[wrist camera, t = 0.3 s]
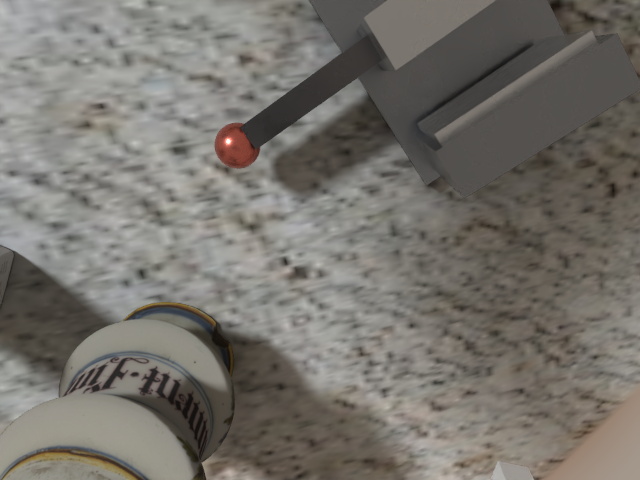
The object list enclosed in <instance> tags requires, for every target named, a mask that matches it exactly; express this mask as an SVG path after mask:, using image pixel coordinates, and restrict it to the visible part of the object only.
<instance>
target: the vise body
mask: <svg viewBox="0 0 640 480" xmlns="http://www.w3.org/2000/svg"><path fill="white" fill-rule="evenodd" d="M309 1H310V3H311V4H312V6H313V8H314V9H315V11H316V12H317V14H318V16H319V17H320V19H321V20H322V22H323V23H324V25H325V27H326V28H327V30H328V31H329V33H330V34H331V36H332V38H333V39H334V41H335V42H336V44H337V46H338V47H339V49H340V50H341V52H342V53H343V52H344V51H346V50H347V49H349V48H350V47H351V46H353V45H354V44H355V43H357V42H358V41H360V40H361V39H362V36H361V34H360V33H359V31H358V30H357V29H358V27H359V25H360V24H361V22H362V20H363V18H364V17H365V16H367V15H368V14H369V13H371V12H372V11H373V10H375V9H376V8H377V7H379V6H380V5H382V4H383V3H384V2H386V1H387V0H309ZM358 79H359V80H360V82H361V83H362V85H363V87H364V88H365V90H366V91H367V93H368V94H369V96H370V98H371V99H372V101H373V102H374V104H375V106H376V107H377V109H378V110H379V112H380V113H381V115H382V117H383V118H384V120H385V121H386V123H387V124H388V126H389V128H390V129H391V131H392V132H393V134H394V136H395V137H396V139H397V140H398V142H399V143H400V145H401V147H402V148H403V150H404V151H405V153H406V154H407V156H408V158H409V159H410V161H411V162H412V164H413V166H414V167H415V169H416V170H417V172H418V173H419V175H420V177H421V178H422V180H423V181H424V183H425V184H426V185H428V184H429V183H431V182H432V181H434V180H436V179H437V178H439V177H440V176H441V177H442V178H443V179H444V180H446V181H447V182H448V183H449V184H450V185H451V186H452V187H453V188H454V189H455V190H456V191H457V192H458V193H459V194H460V195H461V196H462V197H463V198H466V197H468V196H469V195H471V194H472V193H474V192H476V191H477V190H479V189H480V188H482V187H484V186H485V185H487V184H489V183H490V182H492V181H493V180H495V179H497V178H498V177H500V176H501V175H503V174H505V173H506V172H508V171H509V170H511V169H513V168H514V167H516V166H517V165H519V164H521V163H522V162H524V161H525V160H527V159H529V158H530V157H532V156H533V155H535V154H537V153H538V152H540V151H541V150H543V149H545V148H546V147H548V146H549V145H551V144H553V143H554V142H556V141H558V140H559V139H561V138H562V137H564V136H566V135H567V134H569V133H570V132H572V131H574V130H575V129H577V128H578V127H580V126H582V125H583V124H585V123H586V122H588V121H590V120H591V119H593V118H594V117H596V116H598V115H599V114H601V113H602V112H604V111H606V110H607V109H609V108H610V107H612V106H614V105H615V104H617V103H619V102H620V101H622V100H623V99H625V98H627V97H628V96H630V95H631V94H633V93H635V92H636V91H638V90H639V89H640V80H639V78H638V76H637V74H636V72H635V70H634V68H633V66H632V63H631V61H630V59H629V57H628V55H627V53H626V51H625V49H624V47H623V45H622V43H621V40H620V38H619V36H618V34H617V33H616V34H609V35H602V36H594V34H593V32H592V30H591V31H585V32H579V33H573V34H567V35H565V34H564V32H563V30H562V28H561V26H560V24H559V22H558V20H557V18H556V16H555V14H554V12H553V10H552V8H551V7H550V5H549V3H548V1H547V0H496V1H494V2H493V3H491V4H490V5H489V6H487V7H486V8H484V9H483V10H481V11H480V12H479V13H477V14H476V15H474V16H473V17H471V18H470V19H469V20H467V21H466V22H464V23H463V24H461V25H460V26H459V27H457V28H456V29H454V30H453V31H451V32H450V33H449V34H447V35H446V36H444V37H443V38H441V39H440V40H439V41H437V42H436V43H434V44H433V45H431V46H430V47H429V48H427V49H426V50H424V51H423V52H421V53H420V54H419V55H417V56H416V57H414V58H413V59H411V60H410V61H409V62H407V63H406V64H404V65H403V66H401V67H400V68H399V69H397V70H392V71H383V70H382V68H381V67H380V65H379V64H378V63H377V64H376V65H375V66H373V67H372V68H370V69H369V70H368V71H366V72H365V73H363V74H362V75H361V76H359V77H358Z"/></svg>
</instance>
